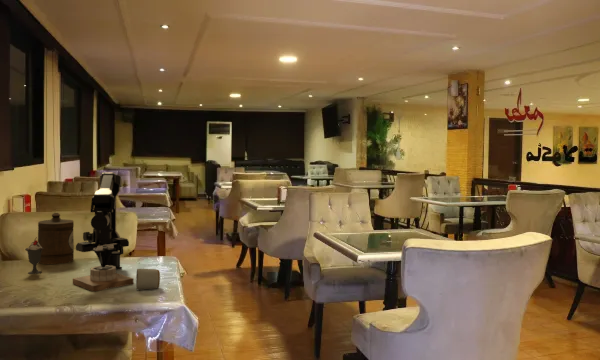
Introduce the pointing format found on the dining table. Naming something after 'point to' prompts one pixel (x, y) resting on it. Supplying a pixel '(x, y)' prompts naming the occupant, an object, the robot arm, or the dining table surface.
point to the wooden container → (56, 240)
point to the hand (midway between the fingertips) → (103, 267)
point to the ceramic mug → (147, 279)
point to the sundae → (34, 255)
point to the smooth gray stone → (102, 268)
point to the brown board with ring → (102, 279)
